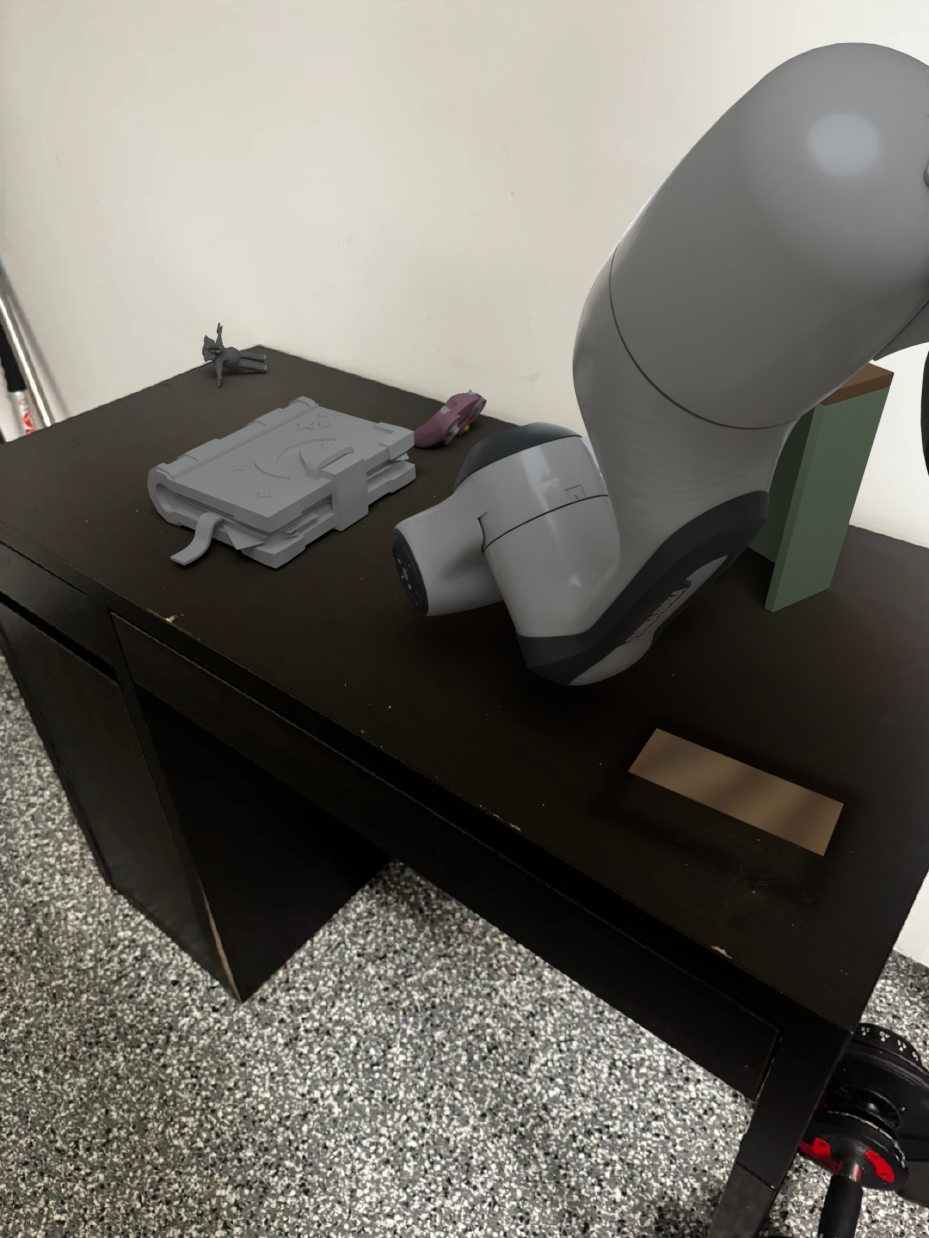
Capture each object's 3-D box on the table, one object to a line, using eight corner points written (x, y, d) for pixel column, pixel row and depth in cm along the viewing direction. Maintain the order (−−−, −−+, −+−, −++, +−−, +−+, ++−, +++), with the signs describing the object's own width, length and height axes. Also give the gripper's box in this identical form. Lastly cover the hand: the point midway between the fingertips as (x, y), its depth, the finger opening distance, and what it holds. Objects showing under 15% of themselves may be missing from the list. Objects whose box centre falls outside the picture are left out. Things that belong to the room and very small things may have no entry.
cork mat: (841, 809, 62) (843, 803, 62) (801, 912, 55) (803, 906, 55) (655, 733, 68) (656, 727, 68) (598, 818, 62) (599, 812, 61)
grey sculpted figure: (272, 387, 123) (206, 373, 119) (259, 406, 128) (195, 394, 124) (271, 323, 126) (207, 308, 121) (258, 344, 131) (196, 330, 126)
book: (111, 539, 91) (93, 472, 86) (299, 440, 109) (292, 381, 105) (246, 601, 82) (233, 530, 78) (425, 482, 101) (423, 419, 96)
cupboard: (772, 613, 81) (830, 391, 68) (642, 526, 93) (671, 324, 80) (829, 588, 84) (895, 372, 71) (697, 507, 96) (732, 310, 84)
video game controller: (434, 466, 107) (456, 423, 102) (406, 442, 108) (426, 399, 103) (476, 436, 114) (498, 394, 109) (449, 414, 114) (470, 372, 109)
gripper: (662, 544, 65) (794, 497, 70) (507, 439, 79) (628, 407, 84) (650, 613, 68) (777, 563, 74) (505, 501, 82) (620, 467, 88)
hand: (696, 479), depth 79 cm, fingers closed on syrup box, 6 cm apart
